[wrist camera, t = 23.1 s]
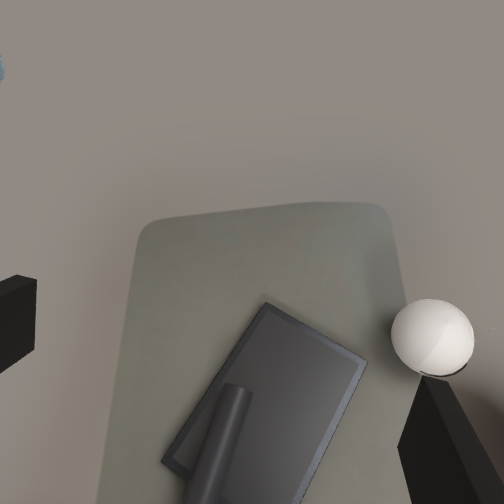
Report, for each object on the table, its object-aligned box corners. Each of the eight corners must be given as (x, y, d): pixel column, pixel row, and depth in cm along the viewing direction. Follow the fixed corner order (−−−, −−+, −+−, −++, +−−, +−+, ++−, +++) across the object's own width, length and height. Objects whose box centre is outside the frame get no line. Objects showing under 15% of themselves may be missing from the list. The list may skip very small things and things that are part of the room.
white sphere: (385, 382, 40) (412, 364, 34) (378, 312, 44) (401, 283, 37) (486, 388, 40) (532, 371, 33) (470, 317, 44) (509, 290, 37)
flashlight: (258, 397, 37) (210, 547, 32) (232, 390, 39) (182, 532, 33) (245, 387, 35) (192, 545, 30) (219, 380, 37) (163, 530, 31)
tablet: (162, 462, 36) (160, 461, 35) (265, 304, 44) (265, 300, 43) (276, 548, 33) (277, 550, 32) (366, 363, 41) (368, 361, 40)
